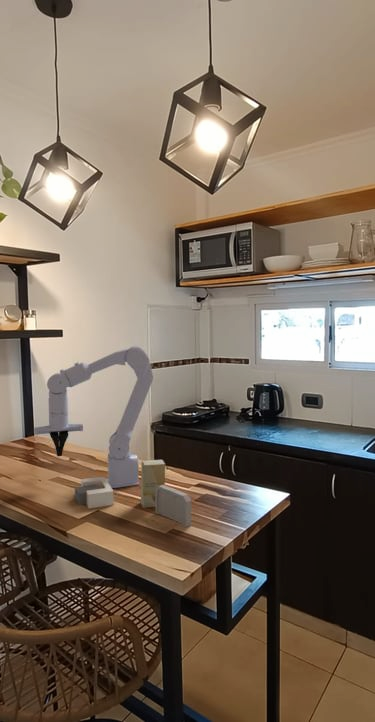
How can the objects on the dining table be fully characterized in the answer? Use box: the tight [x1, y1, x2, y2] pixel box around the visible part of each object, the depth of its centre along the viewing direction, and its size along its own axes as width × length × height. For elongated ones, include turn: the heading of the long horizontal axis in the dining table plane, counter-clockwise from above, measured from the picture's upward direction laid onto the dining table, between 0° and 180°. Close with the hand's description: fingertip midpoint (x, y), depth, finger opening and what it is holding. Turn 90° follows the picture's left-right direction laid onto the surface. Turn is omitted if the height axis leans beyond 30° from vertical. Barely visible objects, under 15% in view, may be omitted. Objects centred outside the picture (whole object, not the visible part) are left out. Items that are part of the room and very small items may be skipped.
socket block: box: [80, 476, 115, 509], centre depth 131 cm, size 7×13×4 cm, turn 22°
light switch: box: [154, 484, 192, 528], centre depth 117 cm, size 2×12×8 cm, turn 45°
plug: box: [74, 484, 99, 506], centre depth 130 cm, size 7×5×4 cm
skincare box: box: [140, 459, 166, 508], centre depth 126 cm, size 6×4×12 cm
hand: (59, 455), depth 140 cm, fingers closed
